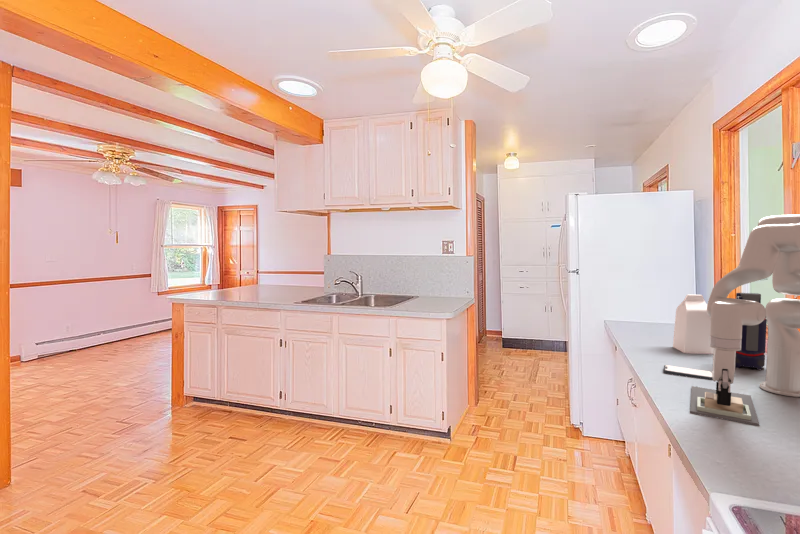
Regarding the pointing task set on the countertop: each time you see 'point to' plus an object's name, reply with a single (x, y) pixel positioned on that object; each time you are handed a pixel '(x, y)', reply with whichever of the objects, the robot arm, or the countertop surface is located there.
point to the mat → (693, 409)
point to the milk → (692, 326)
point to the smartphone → (688, 372)
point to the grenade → (752, 339)
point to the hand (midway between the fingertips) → (723, 399)
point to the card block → (712, 403)
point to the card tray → (723, 412)
